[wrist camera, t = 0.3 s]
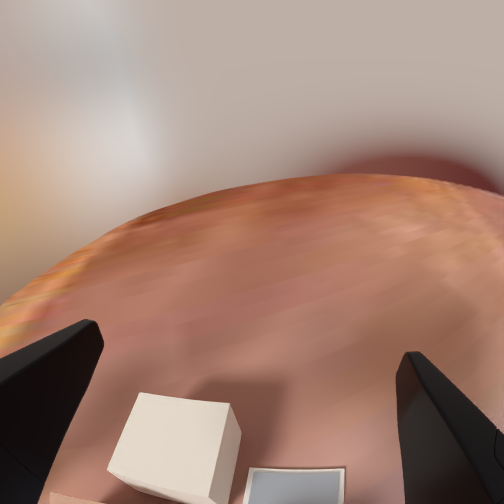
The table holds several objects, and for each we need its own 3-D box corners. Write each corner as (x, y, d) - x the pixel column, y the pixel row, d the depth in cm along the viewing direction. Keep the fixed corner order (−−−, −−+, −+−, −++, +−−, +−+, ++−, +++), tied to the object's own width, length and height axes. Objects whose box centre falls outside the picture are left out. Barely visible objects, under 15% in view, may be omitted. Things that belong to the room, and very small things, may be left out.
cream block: (226, 511, 15) (207, 497, 12) (139, 491, 16) (106, 469, 14) (242, 433, 21) (229, 403, 18) (163, 423, 22) (139, 392, 20)
